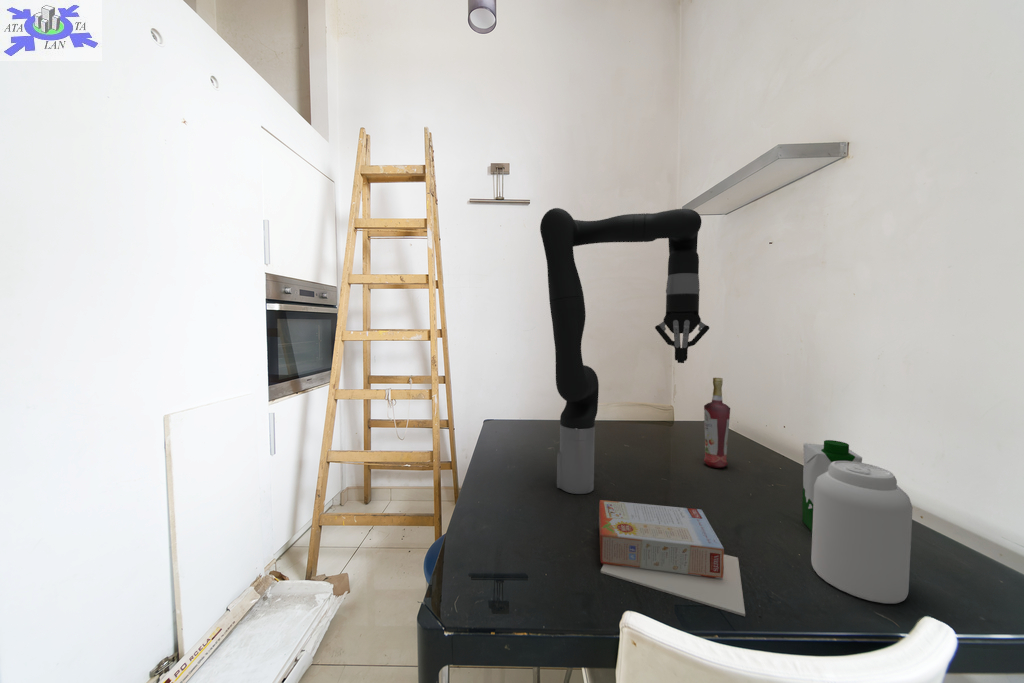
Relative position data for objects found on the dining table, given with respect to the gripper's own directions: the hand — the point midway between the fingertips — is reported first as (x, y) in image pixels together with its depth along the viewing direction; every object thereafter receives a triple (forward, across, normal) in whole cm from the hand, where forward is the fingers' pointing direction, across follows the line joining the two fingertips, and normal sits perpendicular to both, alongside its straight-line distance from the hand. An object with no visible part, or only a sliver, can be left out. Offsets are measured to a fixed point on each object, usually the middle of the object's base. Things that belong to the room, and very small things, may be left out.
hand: (680, 362), depth 96 cm
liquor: (+35, -9, -32) cm, 48 cm away
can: (+35, -30, +19) cm, 50 cm away
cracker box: (+32, +13, +30) cm, 45 cm away
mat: (+35, -1, +30) cm, 46 cm away
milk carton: (+35, -30, +1) cm, 46 cm away
